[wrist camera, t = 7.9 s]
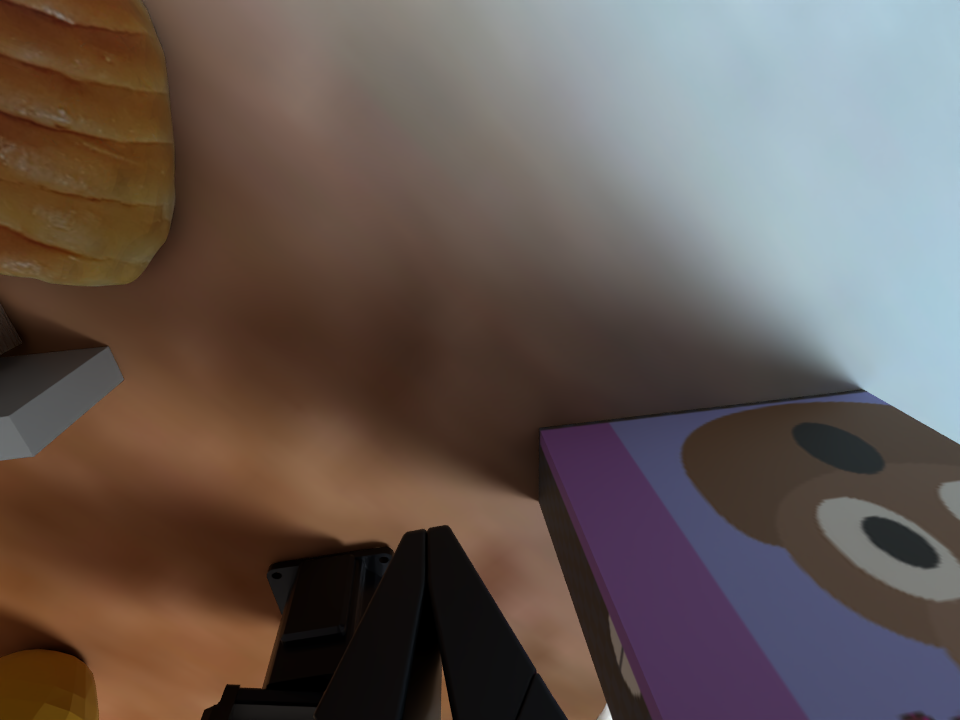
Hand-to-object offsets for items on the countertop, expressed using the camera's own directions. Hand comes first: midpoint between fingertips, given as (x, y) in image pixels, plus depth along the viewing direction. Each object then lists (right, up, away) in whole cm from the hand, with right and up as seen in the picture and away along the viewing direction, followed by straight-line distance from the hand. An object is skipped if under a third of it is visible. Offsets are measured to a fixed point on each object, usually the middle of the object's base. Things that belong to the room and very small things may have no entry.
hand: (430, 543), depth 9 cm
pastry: (-13, +11, +7) cm, 18 cm away
